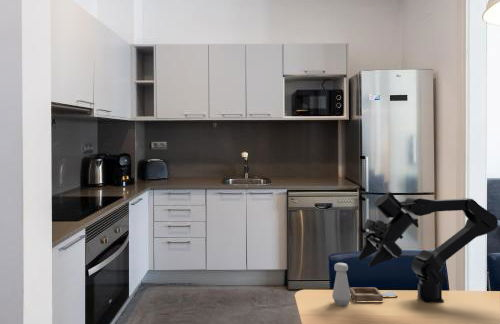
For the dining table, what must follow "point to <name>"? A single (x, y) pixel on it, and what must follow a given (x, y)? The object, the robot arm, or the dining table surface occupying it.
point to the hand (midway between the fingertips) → (364, 262)
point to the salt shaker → (341, 285)
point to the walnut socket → (366, 294)
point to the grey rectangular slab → (389, 294)
